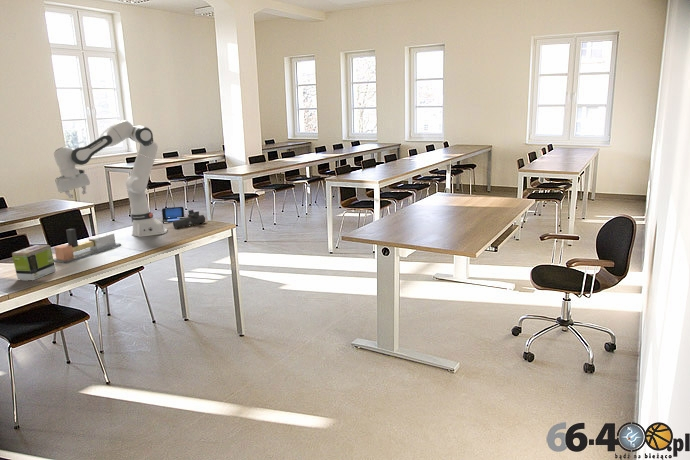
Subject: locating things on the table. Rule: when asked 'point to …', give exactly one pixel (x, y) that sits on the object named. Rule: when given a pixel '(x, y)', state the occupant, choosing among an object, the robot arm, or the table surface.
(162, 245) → the table surface
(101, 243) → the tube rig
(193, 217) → the laser sight
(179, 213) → the handheld game console
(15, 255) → the tea box
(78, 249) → the hammer
